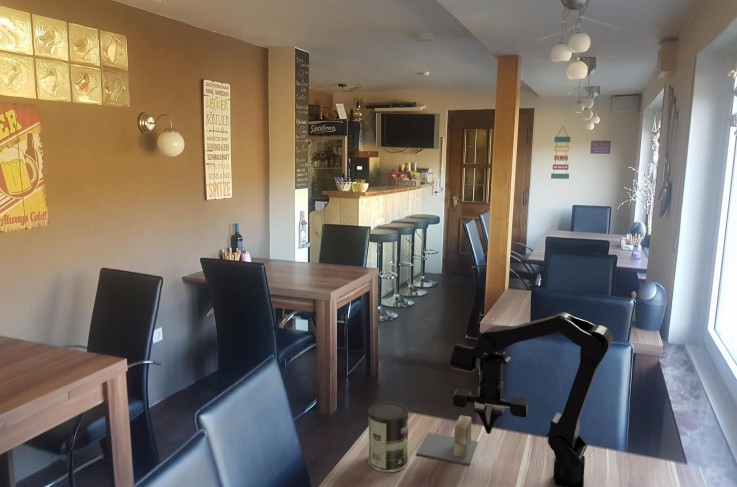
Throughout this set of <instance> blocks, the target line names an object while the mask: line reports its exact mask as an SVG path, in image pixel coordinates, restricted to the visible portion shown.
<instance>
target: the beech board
mask: <svg viewBox="0 0 737 487" xmlns="http://www.w3.org/2000/svg"><path fill="white" fill-rule="evenodd" d="M454 437H455V439H454V455H456V456H461V457H466V455H467V452H468V449H469V447H470V444H471V440H472V417H471V416H467V415H461V414H460V415H459V417H458V419H457V421H456V423H455V426H454Z"/></svg>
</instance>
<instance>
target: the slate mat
mask: <svg viewBox="0 0 737 487" xmlns="http://www.w3.org/2000/svg"><path fill="white" fill-rule="evenodd" d="M454 439H455V436H451V435H445V434H444V435H443V434H439V433H434V432H429V431H428V432H427V433H426V436H425V438H424V439H423V441H422V443H421V445H420V447H419V448H418V450H417V452H416V455H417V456H422V457H427V458H431V459H436V460H441V461H447V462H449V463H451V462H452V463H456V464H462V465H466V466H470V465H471V462H472V460H473V457H474V455H475V451H476V449H477V446H478V444H479V442H478V441H477V440H472V439H471V444H470V447H469V449H468V452H467V455H466V457H461V456H456V455H454Z"/></svg>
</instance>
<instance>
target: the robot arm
mask: <svg viewBox="0 0 737 487" xmlns="http://www.w3.org/2000/svg"><path fill="white" fill-rule="evenodd" d="M557 333H559V334H562V335H563V336H564V337H565V338H567V339H568V340H569V341H571V342H572V343H573V344H575V345H577V346H578V347H580V351H579V365H578V368H577V372H576V374H575V377H574V380H573V383H572V386H571V389H570V391H569V393H568V394H569V395H568V396H567V400H566V403H565V405H564V408H563V412H562V414H561V413H560V412H559V411H557V412H556V413H555V415H554V416H553V418H552V420H551V421H550V424H549V425H550V426H549V429H548V431H547V433H546V435H545V436H546V437H548V438H547V444H548V446H549V447H550V449H551V450H552V451H553V453H554V459H553V479H554V484H555V485H556V486H561V487H585V466H586V465H585V464H586V457H585V452H586V450H587V448H588V444H587V443H586V442H585V440H584V439H583V438H582V437H581V436H580V429H581V428H580V427H581V415H582V412H583V409H584V407H585V406H584V405H585V403H586V401H587V398H588V394H589V393H590V389H591V387H592V383H593V382H594V378H595V375H596V372H597V370H598V367H599V366H600V364H601V362H602V361H603V359H604V357H605V356H606V354H607V352H608V351H609V349H610V347H611V346H612V343H613V341H614V335H613V334H612V332H611V331H610V329H609V328H608V327H606V326H604V325H599V324H597V325H596V324H593V323H592V322H590V321H587V320H586V319H585V320H584V319H581V318H579V317H575V316H573V315H571V314H569V313H568V312H564V311H562V312H560V313H558V314H555V315H551V316H547V317H543V318H539V319H535V320H532V321H529V322H524V323H521V324H517V325H497V326H491V327H489V328H487V329H486V330H485V331H484V332H482V333H481V334H479V336H478V339H477V344H476V345H475V346H470V345H465V344H462V343H456V344H454V347H453V348H454V349H453V350H452V354H451V357H450V360H449V361H450V368H451V369H453V370H457V371H458V370H459V371H462V372H467V373H471V374H474V373H475V372H476V371H477V370H479V374H477V379H476V387H478V389H479V390H478V395H473V394H472V390H471V389H465V388H459V387H458V388H457V389H456V390H455V391H454V393H453V395H452V400H451V401H452V402H451V404H452V406H454V407H459V408H465V407H466V406H467V405H468V403H472V404H474V408H473V412H474V413H476V414H478V417H479V418H480V420H481V422H482V424H483V427H484V430H485V432H486V434H488V435H490V434H491V432H492V429H493V427H494V425H495V423H496V421H497V419H498V418H499V417H503V416H504V413H505V410H506V409H509V413H510V414H511V415H512V416H513V417H520V418H526V417H527V414H528V410H529V409H528V408H529V401H528V399H527V398H524V397H516V396H512V398H511V400H507V399H502V398H503V397H504V381H503V367H504V365H508V364H509V363H510V362H511V361H512V357H511V356H509V355H508V354H507V352H506V351H503V350H505V349H506V348H508V347H510V346H512V345H514V344H517V343H521V342H525V341H528V340H532V339H538V338H542V337H545V336H550V335H553V334H557ZM500 351H503V352H502V353H498V352H500ZM489 407H492V410H491V412H490V415H489ZM489 416H490V417H489Z"/></svg>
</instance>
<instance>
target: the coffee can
mask: <svg viewBox="0 0 737 487" xmlns="http://www.w3.org/2000/svg"><path fill="white" fill-rule="evenodd" d="M367 412H368V465H369V466H370V467H371V468H372V469H373V470H376V472H377V471H378V472H382V473H395V472H400V471H402V470H403V469H406V467H407V466H408V463H409V460H408V459H409V458H408V454H409V453H408V451H409V449H408V446H409V445H408V440H409V437H408V436H409V433H408V432H409V412H410V411H409V408H408V407H406V406H405V405H404V404H401V403H398V402H393V401H383V402H379V403H375V404H373V405H371V406H370V407H369V408H368V409H367Z"/></svg>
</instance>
